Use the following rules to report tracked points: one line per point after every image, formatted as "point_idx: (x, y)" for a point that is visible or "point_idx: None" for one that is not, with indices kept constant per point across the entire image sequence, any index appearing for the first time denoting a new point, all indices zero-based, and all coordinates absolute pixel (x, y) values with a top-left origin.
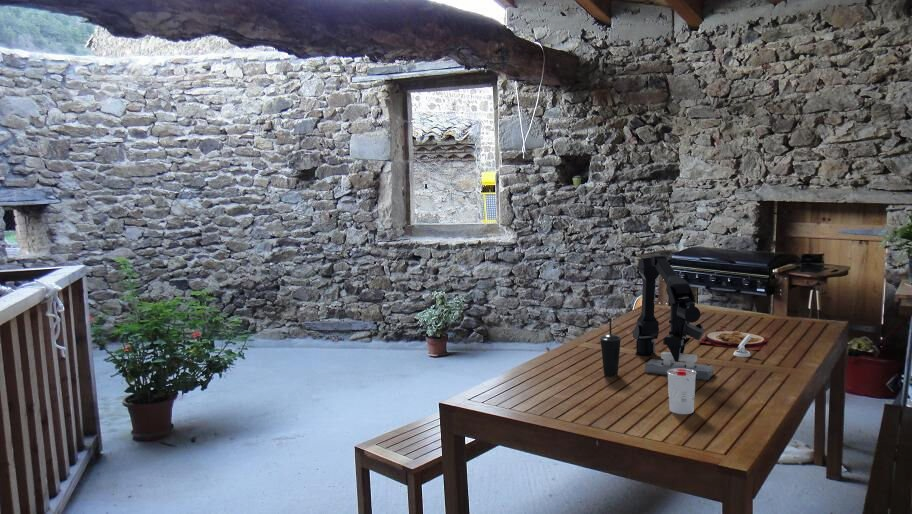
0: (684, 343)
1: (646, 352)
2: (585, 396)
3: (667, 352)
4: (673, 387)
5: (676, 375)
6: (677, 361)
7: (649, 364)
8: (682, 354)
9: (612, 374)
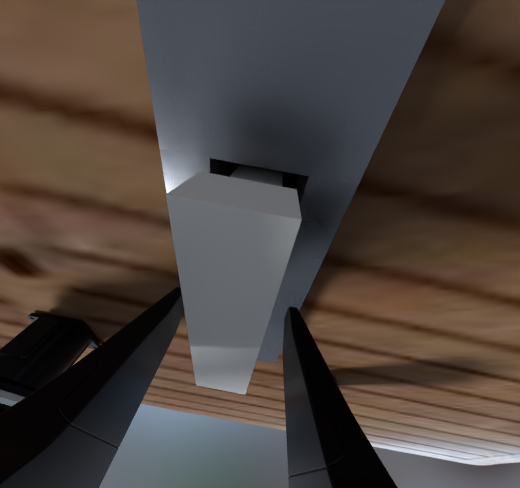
0: (54, 451)
1: (76, 336)
2: (516, 409)
3: (207, 377)
4: None
5: None
6: (297, 310)
7: (272, 355)
8: (221, 325)
9: (337, 384)
